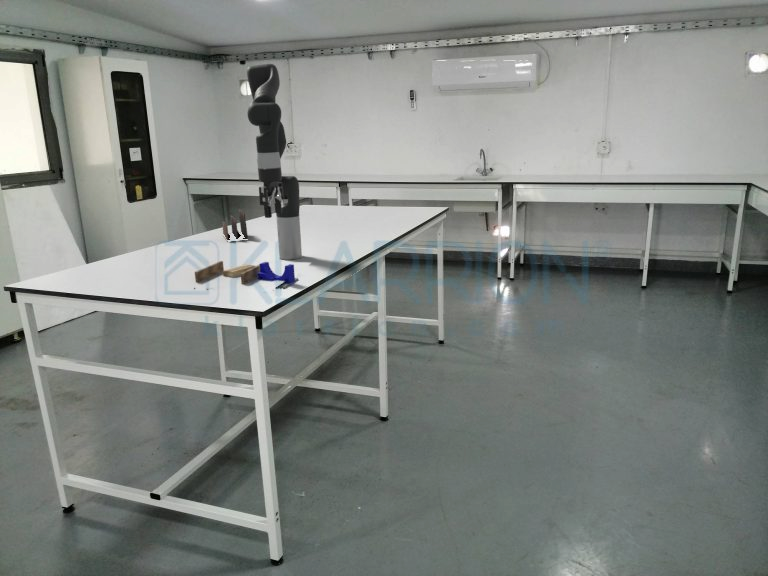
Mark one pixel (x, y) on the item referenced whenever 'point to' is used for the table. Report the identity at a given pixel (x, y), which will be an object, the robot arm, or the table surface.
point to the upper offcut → (237, 270)
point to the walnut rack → (218, 268)
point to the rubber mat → (285, 284)
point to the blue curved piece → (270, 276)
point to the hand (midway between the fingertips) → (273, 215)
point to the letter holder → (234, 226)
